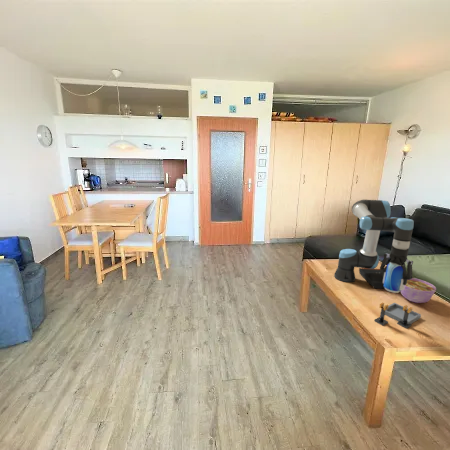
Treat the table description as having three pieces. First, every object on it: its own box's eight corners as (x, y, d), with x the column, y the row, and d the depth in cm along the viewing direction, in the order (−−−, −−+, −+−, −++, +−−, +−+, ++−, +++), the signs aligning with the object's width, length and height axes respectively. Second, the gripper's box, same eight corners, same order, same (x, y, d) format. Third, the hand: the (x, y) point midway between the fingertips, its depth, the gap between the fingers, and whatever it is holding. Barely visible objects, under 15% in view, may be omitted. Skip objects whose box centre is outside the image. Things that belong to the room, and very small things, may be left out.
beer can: (392, 294, 137) (397, 266, 133) (379, 287, 145) (384, 260, 141) (404, 292, 139) (410, 265, 135) (391, 285, 147) (396, 259, 143)
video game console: (394, 276, 209) (396, 265, 206) (413, 291, 184) (415, 279, 182) (357, 274, 211) (359, 263, 209) (371, 289, 187) (374, 276, 184)
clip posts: (374, 321, 149) (377, 303, 146) (387, 314, 156) (390, 297, 153) (398, 333, 138) (402, 315, 135) (411, 325, 145) (415, 308, 142)
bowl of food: (398, 289, 186) (401, 274, 183) (433, 298, 174) (436, 283, 171) (394, 300, 171) (397, 284, 168) (432, 311, 159) (436, 295, 156)
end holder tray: (380, 312, 157) (381, 309, 157) (393, 306, 165) (394, 302, 164) (407, 326, 145) (408, 322, 144) (420, 318, 152) (421, 314, 151)
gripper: (376, 242, 143) (370, 279, 149) (419, 254, 125) (410, 296, 131) (384, 240, 147) (377, 277, 152) (426, 252, 129) (417, 292, 135)
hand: (392, 285), depth 142 cm, fingers closed on beer can, 8 cm apart
